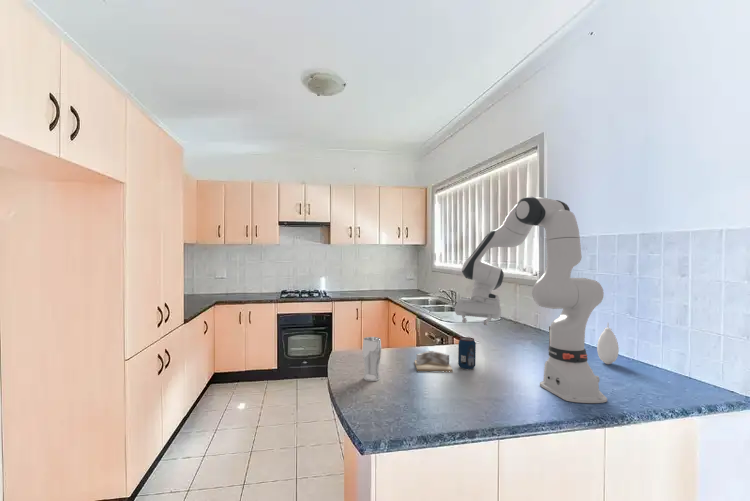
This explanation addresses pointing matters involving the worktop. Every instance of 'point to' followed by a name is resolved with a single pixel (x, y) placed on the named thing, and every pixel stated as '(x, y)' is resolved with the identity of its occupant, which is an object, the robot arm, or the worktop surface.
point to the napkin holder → (433, 362)
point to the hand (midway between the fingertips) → (474, 323)
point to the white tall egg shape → (607, 346)
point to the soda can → (466, 353)
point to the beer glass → (371, 358)
